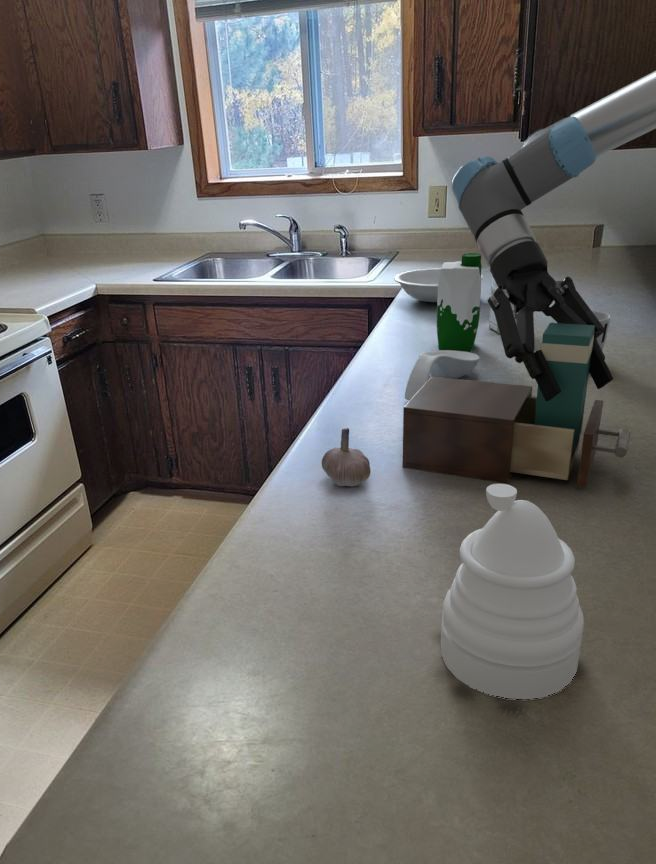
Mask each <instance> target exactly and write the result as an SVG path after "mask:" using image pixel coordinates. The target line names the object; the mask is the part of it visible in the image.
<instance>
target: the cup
mask: <svg viewBox="0 0 656 864" xmlns="http://www.w3.org/2000/svg"><path fill="white" fill-rule="evenodd" d="M591 311H592V312H593V313H594V315H595V316H596V318H597V319H598V320H599V322H600V323H601V324H602V326H603V327H604V329H605V331H604V332H603V333H602V334H601V335H600V336H599V337H598V338H597V342H598V344H599V346H600V347H601V349H602V351H603V349H604V346H605V344H606V343H605V342H606V340H607V335H608V333H609V332H608V331H609V326H610V322H611V315H610V314H608V313H607V312H602V311H596V310H595V311H594V310H591Z"/></svg>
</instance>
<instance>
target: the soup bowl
mask: <svg viewBox="0 0 656 864" xmlns="http://www.w3.org/2000/svg"><path fill="white" fill-rule="evenodd" d="M440 269H441V267H438V268H437V267H434V268H431V267H430V268H421V269H419V268H418V269H413V270H412V269H411V270H408V271H402V272H400V273H398V274H396V275H395V276H394V278H393V279H394V281H395V282H396V283H398V284H400V286H401V288H402V290H403V291H404V292H405V293H406V294H407V295H408V296H410V297H411V298H413V299H415V300H418V301H422V302H427V303H428V302H429V303H437V300H438V283H439V276H440ZM483 279H484V275H483V273H481V281H483Z"/></svg>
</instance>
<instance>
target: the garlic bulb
mask: <svg viewBox="0 0 656 864" xmlns="http://www.w3.org/2000/svg"><path fill="white" fill-rule="evenodd" d="M340 434H341V435H340V437H341V440H340V447H333V448H331V449H329V450H327V451H326V452H325V453H324V454H323V456H322V459H321V468H322V470H323V471H324V473H325V474H326V475H327V476H328V477H329V478H330V479H331V480H332V482H333V484H335V485H336V486H339V487H346V486H347V487H357V486H359V485H360V484H361V483H364V482H365V481H367V480H368V479H370V476H371V465H370V461H369V460H370V459H369V458H368V457H367V456H366V455H365V454H364V453H363V451H362V450H360V449H359V448H358V449H357V448H352V447H349V445H350V428H349V427H346V428H342V429H341V433H340Z"/></svg>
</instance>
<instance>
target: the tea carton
mask: <svg viewBox="0 0 656 864" xmlns="http://www.w3.org/2000/svg"><path fill="white" fill-rule="evenodd" d="M594 328H595V325H580V324H563V323H557V322H549V323H548V325H547V326H546V328H545V330H544V331H543V333H542V337H541V338H542V339H541V344H540V345H541V346H540V350H542V353H543V355H544V357H545V359H546V361H547V363H548V365H549V367H550V369H551V371H552V373H553V375H554V377H555V379H556V381H557V383H558V385H559V387H560V389H561V392H560V393H559V394H557V395H556V396H555V397H554V398H552V399H551V400H550V401H545V399H544V397H543V395H542V393H541V390H540V388H539V386H538V385H537V391H536V397H537V400H536V410H535V421H534V425H541V426H549V427H558V428H566V429H574V430H575V431H574V439H573V446H572V447H576V446H577V443H578V440H579V441H580V439H579V437H580V438H581V434H582V430H583V421H584V414H585V407H586V397H587V390H588V383H589V375H590V373H589V368H590V360H591V352H592V347H593V339H594Z"/></svg>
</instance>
